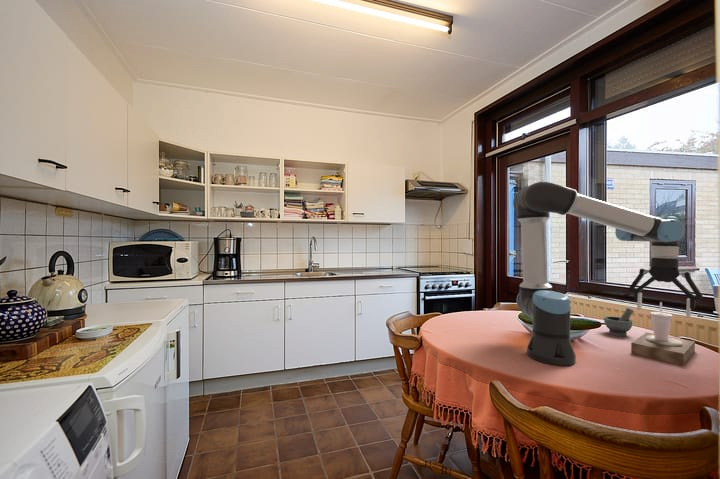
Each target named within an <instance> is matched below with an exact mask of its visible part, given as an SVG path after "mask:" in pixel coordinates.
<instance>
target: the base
mask: <svg viewBox="0 0 720 479" xmlns="http://www.w3.org/2000/svg"><path fill="white" fill-rule="evenodd" d="M695 345H696V341H694V340H689V339H684V338H678V337H674V336H673V337H672V336H668V340H667V341H665V340H658V339H655V338H654V333H652V332H645V333H644V334H642V335H640V336H639V337H637V338H636V339H635V340H633V341H632V342H631V348H630V350H631V352H630V353H631V354H634V355H637V356H638V355H639V356H642V357H646V358H650V359H654V360H659V361H664V362H668V363H670V364H671V363H672V364H676V365H681V366H685V365H686V363H687V362H688V361H689V360H690V358H692V356H693V355H694V353H695V352H696V346H695Z"/></svg>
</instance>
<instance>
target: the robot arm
mask: <svg viewBox="0 0 720 479" xmlns="http://www.w3.org/2000/svg"><path fill="white" fill-rule="evenodd" d="M512 206H513V208H514V209H513V210H515V212H516V219H517V221H518V222H519V223H520V225H521V252H522V253H521V254H522V273H523V274H522V278H523V279H522V280H523V281H522V282H520V284H519V292H518V294H517V296H516V305H517V308H518V309H519V311H520V312H521V313H522V314H523V315H525V316H526V317H528V318H530V319H531V320H532V333H531V336H530V339H529V342H528V345H527V347H526V355H527V356H528V357H529V358H531V359H533V360H535V361H537V362H540V363H544V364H546V365H547V364H549V365H553V366H561V367H563V366H564V367H565V366H566V367H567V366H573V365H575V364H576V363H577V360H576V359H577V355H576V353H575V349H574V347H573V344H572V341H571V310H572V305H571V299H570V297H569V296H568V295H567V294H564V293H562V292H557V291H553V285H552V284H550V283H549V282H548V263H547V262H548V260H547V256H548V255H547V235H546V234H547V233H546V231H547V230H546V222H547V221H549V219H550V218H551V217H550V213H554V214H557V215H562V216H566V215H567V214H568V215H571V216H574V217H577V218H581V219H584V220H586V221H587V220H588V221H591V222H594V223H598V224H601V225H603V226H607V227H610V228H613V229H615V236H616V239H618V241H621V242H648V243H649V242H651V250H650V251H651V252H650V255H651V258H650V269H646V268H644V267H643V268H639V272H638V275H637V276H636V277H635V278H634V280H633V282H632V283H631V285H630V286H629V287H628V290H629V291H631V292H633V294H634V296H633V298H634V299H633V300H634V301H636V302H637V304H636V305H637V306H636V307H637V308H636V309H637V310H638V311H641V310H642V309H643V308H642V306H643V304H642V303H643V293H642V292H641V291H643V290H644V289H645V288H647V287H648V286H649V285H651V284H652V283H653V282H655V281H656V282H658V283H659V282H660V283H661V282H664V283H673V284H674V285H675V286H676V287H677V288H678V289H679V290H681V292H682V293H683V294H685V295H686V296H687V299H686V309H685V310H686V311H685V312H686V314H685V316H686V318H691V316H692V315H691V314H692V310H693V309H695V308H696V301H697V300H699V299H703V297H704V296H703V294H702V293H701V291H700V289H699V288H698V286H697V285H696V283H695V281H694V280H693V278H692V276H691V275H692V274H691V272H690V271H679V259H678V258H679V254H680V252H679V251H680V249H679V248H680V240H681V239H682V238H684V236H685V233H686V227H685V225H684V223H682V222H681V221H680V219H679V217H676V216H653V215H649V214H646V213H643V212H640V211H637V210H636V211H635V210H633V209H630V208H625V207H623V206H620V205H616V204H613V203H609V202H606V201H604V200H603V201H602V200H599V199H596V198H592V197H589V196H587V195H583V194H580V193H578V191H577V190H576V189H574V188H571V187H567V186H564V185H560V184H556V183H553V182H548V181H538V182H535V183H532V184H530V185H528V186H524V187H523V188H520V190H519V191H518V192H516V193H515V195H514V198H513V200H512ZM647 274H649V275H650V276H651V277H649V278H648V280H646V281H645V282H643V283H642V284H641V285H640V286H638V284H639V283H640V282H641V280H642V279H643V278H644V276H645V275H647ZM679 276H681V278H683V279H685V280H686V281H685V282H687V284H688V286H689V288H690V289H691V290H692V291H693V293H694V294H693V293H692V292H691V291H690V290H689V289H688V288H687V287H686V286H685V285H684V284H682V282H681V281H680V280H679V279H678V277H679ZM637 286H638V287H637ZM636 287H637V288H636Z"/></svg>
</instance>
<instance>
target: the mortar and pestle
mask: <svg viewBox="0 0 720 479" xmlns="http://www.w3.org/2000/svg"><path fill="white" fill-rule="evenodd" d="M633 313H634V310H633V309H632V308H629V307H626V308H625V311H624V312H623V314H622V315H621V316H620V317H619V316H604V317H603V321H604V322H603V323H604V324H605V326H606V328H607V329H608V330H609V331H608V333H609V334H610V335H612V336H617V337H627V336H628V333H627V332H629V331H630V330H631V329H632V326H633V320H631V319H630V318H631V316H632V314H633Z"/></svg>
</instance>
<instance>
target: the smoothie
mask: <svg viewBox="0 0 720 479" xmlns="http://www.w3.org/2000/svg"><path fill="white" fill-rule="evenodd" d="M649 315H650V316H651V317H650V318H651V323H652V324H651V325H652V331H653V334H654V338H655V339H658V340H665V341H667V340H668V337H670V331H671V330H670V329H671V325H672V319H673V318H674V317H673V314H671V313H668V312H667V313H666V312H663V302H662V301H660V302H659V311H651V312H649Z"/></svg>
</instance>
